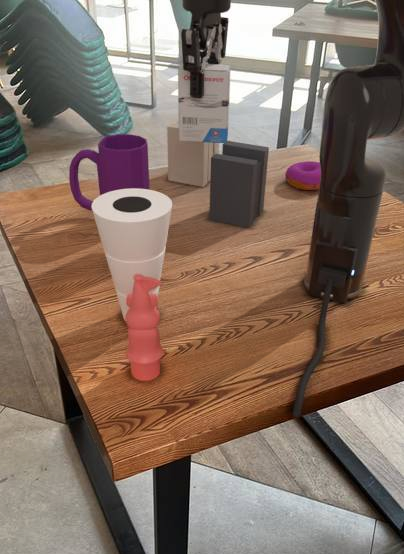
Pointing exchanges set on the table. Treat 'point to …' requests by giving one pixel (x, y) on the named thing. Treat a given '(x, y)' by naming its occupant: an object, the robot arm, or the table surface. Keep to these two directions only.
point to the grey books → (238, 183)
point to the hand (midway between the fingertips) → (204, 92)
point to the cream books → (189, 159)
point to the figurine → (143, 329)
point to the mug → (114, 166)
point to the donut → (304, 175)
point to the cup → (133, 236)
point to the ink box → (205, 106)
